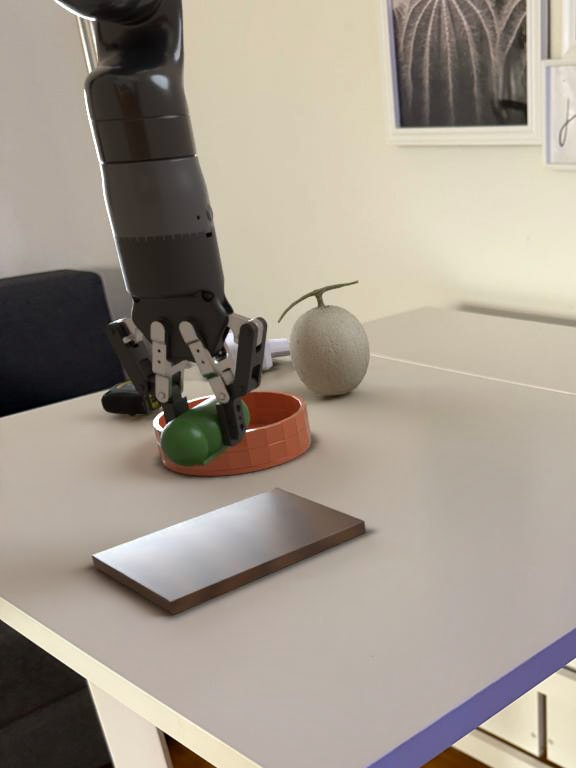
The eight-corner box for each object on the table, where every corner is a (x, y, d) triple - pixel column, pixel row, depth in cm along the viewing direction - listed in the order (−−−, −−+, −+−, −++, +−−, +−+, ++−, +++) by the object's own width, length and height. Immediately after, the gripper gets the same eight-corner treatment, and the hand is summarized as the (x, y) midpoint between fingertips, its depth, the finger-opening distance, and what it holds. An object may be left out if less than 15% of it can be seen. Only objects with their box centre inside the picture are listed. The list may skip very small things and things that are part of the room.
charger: (309, 366, 141) (208, 380, 137) (299, 353, 149) (203, 366, 145) (304, 334, 139) (202, 347, 135) (294, 323, 146) (197, 335, 143)
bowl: (213, 487, 99) (204, 447, 96) (135, 455, 109) (125, 418, 107) (340, 443, 109) (335, 405, 107) (258, 417, 120) (251, 383, 117)
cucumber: (200, 475, 75) (189, 426, 73) (157, 473, 76) (145, 425, 74) (261, 431, 84) (253, 387, 82) (221, 430, 85) (212, 386, 83)
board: (173, 615, 74) (170, 602, 74) (94, 567, 83) (90, 555, 83) (366, 532, 86) (364, 520, 86) (279, 498, 95) (277, 487, 94)
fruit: (288, 389, 131) (269, 276, 123) (369, 379, 133) (355, 268, 125) (292, 409, 122) (273, 290, 114) (379, 399, 124) (365, 280, 116)
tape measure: (103, 420, 123) (95, 391, 121) (134, 404, 129) (127, 377, 127) (146, 422, 121) (139, 393, 119) (176, 406, 127) (170, 378, 125)
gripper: (52, 235, 69) (112, 455, 78) (223, 229, 66) (266, 460, 75) (110, 222, 76) (160, 427, 84) (269, 216, 72) (304, 430, 81)
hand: (209, 441), depth 80 cm, fingers closed on cucumber, 4 cm apart
